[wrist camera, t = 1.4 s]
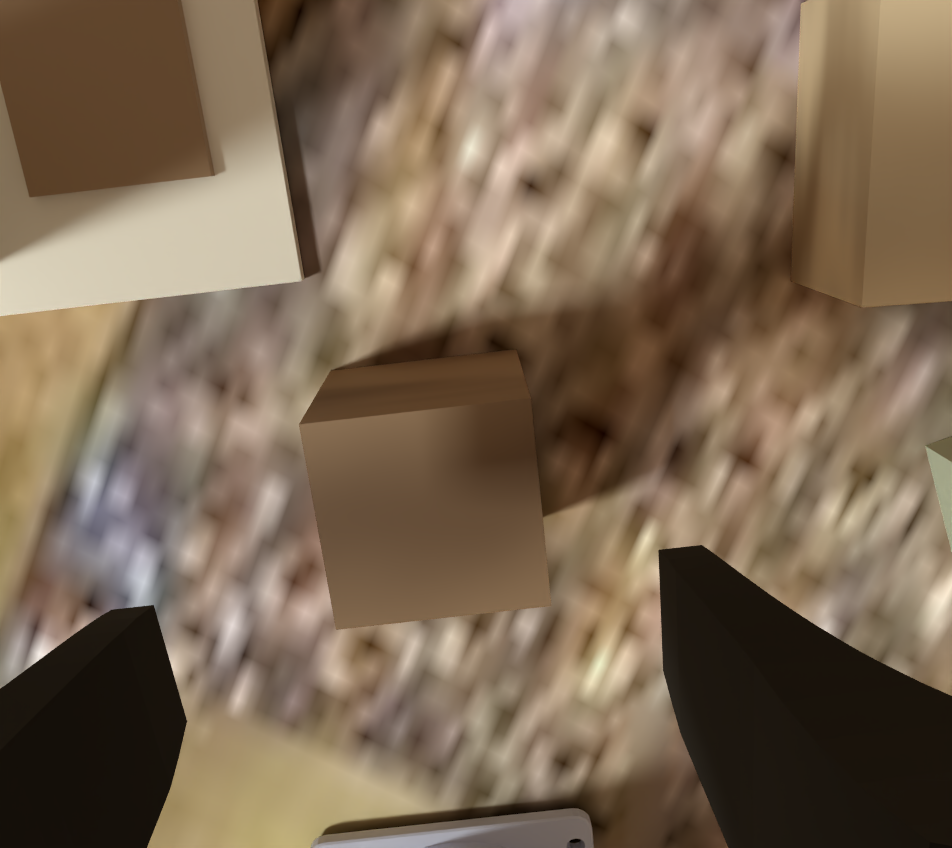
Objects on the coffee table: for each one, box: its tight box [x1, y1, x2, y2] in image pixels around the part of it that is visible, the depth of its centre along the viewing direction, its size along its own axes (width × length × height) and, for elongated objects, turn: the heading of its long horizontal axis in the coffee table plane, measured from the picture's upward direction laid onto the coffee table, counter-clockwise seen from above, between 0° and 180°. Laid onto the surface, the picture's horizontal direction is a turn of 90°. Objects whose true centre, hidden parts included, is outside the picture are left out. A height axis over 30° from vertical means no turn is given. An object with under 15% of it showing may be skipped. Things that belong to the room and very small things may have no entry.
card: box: [0, 0, 305, 316], centre depth 19 cm, size 9×7×1 cm
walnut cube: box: [299, 349, 551, 630], centre depth 20 cm, size 4×4×4 cm
